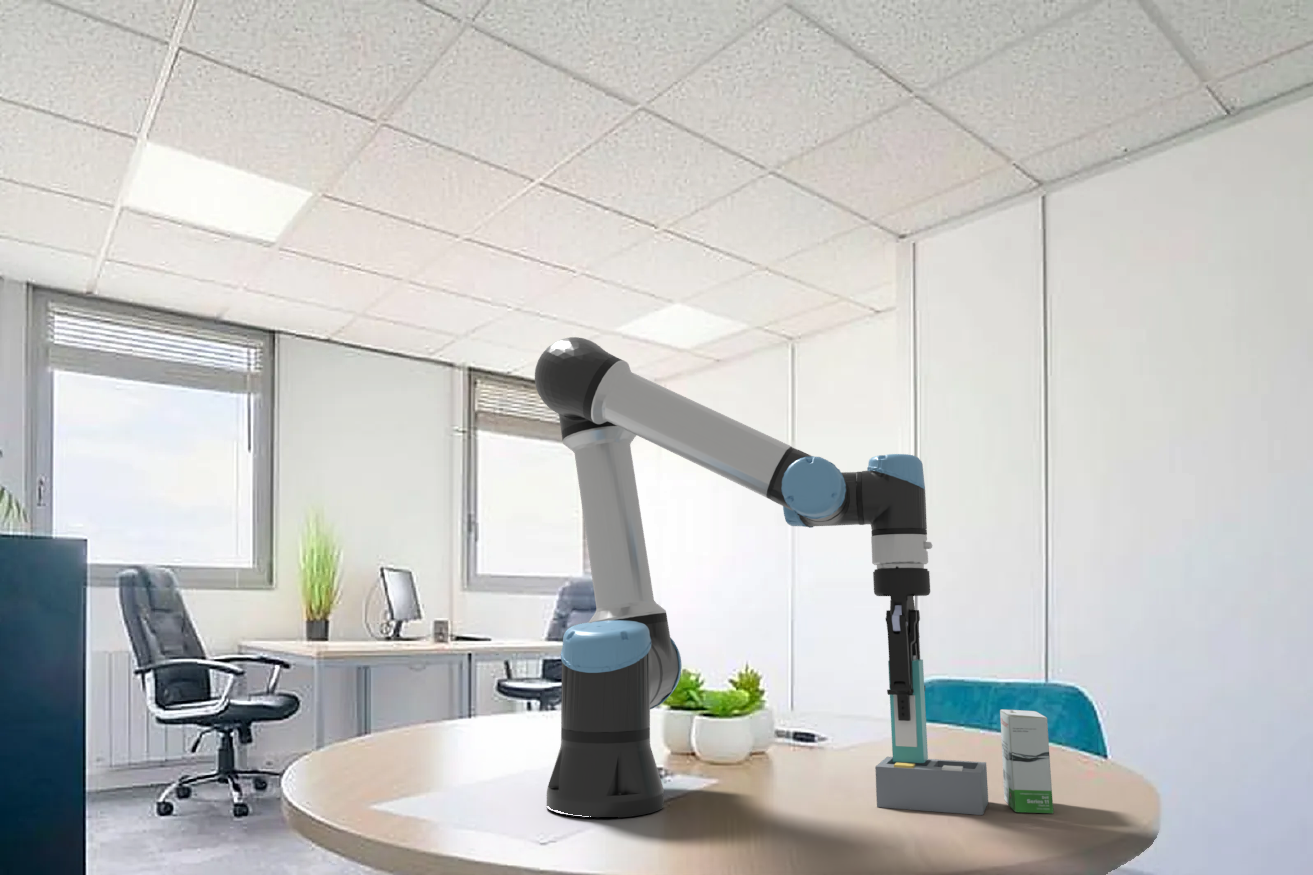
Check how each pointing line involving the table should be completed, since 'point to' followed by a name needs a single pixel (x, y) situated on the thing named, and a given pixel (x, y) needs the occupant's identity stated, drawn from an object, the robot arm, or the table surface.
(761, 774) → the table surface
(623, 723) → the robot arm
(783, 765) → the table surface
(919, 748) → the plug
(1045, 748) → the ink box
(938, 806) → the socket block
